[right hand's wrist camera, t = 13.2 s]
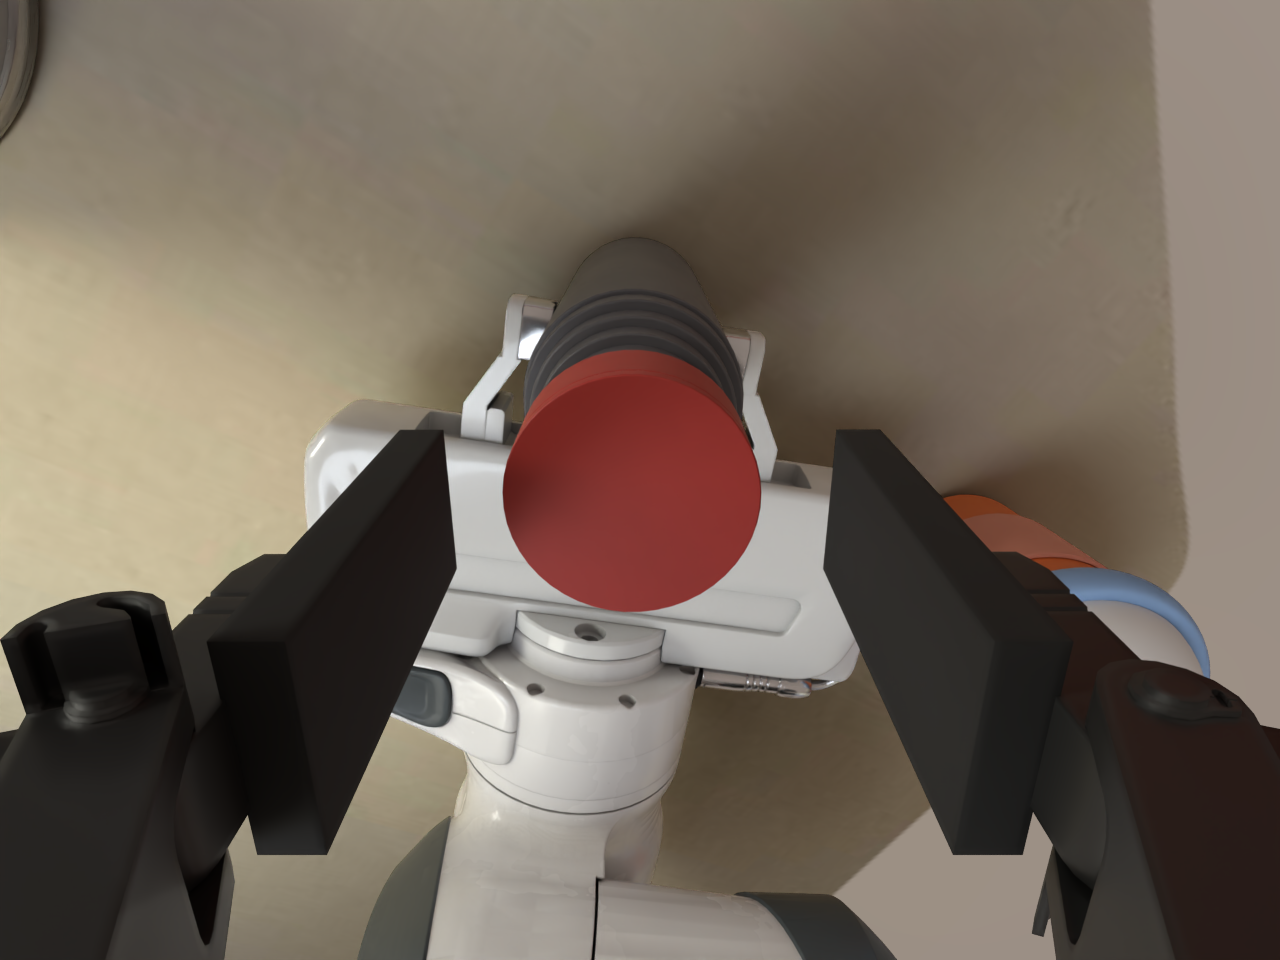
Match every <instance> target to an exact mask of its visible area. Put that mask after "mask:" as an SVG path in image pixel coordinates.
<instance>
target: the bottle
mask: <svg viewBox="0 0 1280 960" xmlns="http://www.w3.org/2000/svg"><path fill="white" fill-rule="evenodd" d="M620 350H644V351H652V352H658V353H662V354H665V355H669V356H672V357H675V358H677V359H680V360H682V361H684V362H687V363H688V364H690V365H692V366H694V367H695V368H697V369H699V370H700V371H702V372H703V373H704V374H705V375H707V376H708V377H709V378H711V379H712V380H713V381H714V382H715V383H716V384H717V385H718V386H719V387H720V388H721V389H722V390H723V392H724V393H725V394H726V396H727V397H728V398H729V400H730V401H731V402H732V404H733V406H734V408H735V410H736V411H737V413H738V415H739V417H740V420H741V421H742V413H743V398H744V391H743V379H742V375H741V370H740V366H739V363H738V360H737V358H736V355H735V352H734V350H733V348H732V347H731V345H730V343H729V341H728V339H727V337H726V335H725V333H724V331H723V329H722V327H721V325H720V323H719V321H718V319H717V317H716V315H715V313H714V311H713V310H712V308H711V306H710V304H709V302H708V300H707V298H706V296H705V294H704V292H703V290H702V288H701V286H700V284H699V282H698V280H697V278H696V276H695V275H694V273H693V271H692V269H691V268H690V266H689V265H688V263H687V262H686V261H685V260H684V259H683V258H682V257H681V256H680V255H679V254H678V253H677V252H675V251H674V250H673V249H671V248H670V247H668V246H666V245H664V244H662V243H660V242H657V241H654V240H650V239H645V238H625V239H619V240H616V241H612V242H610V243H608V244H605V245H604V246H602V247H600V248H599V249H597V250H596V251H594V252H593V253H592V254H591V255H589V257H588V258H587V259H586V260H585V261H584V262H583V263H582V265H581V266H580V267H579V269H578V270H577V272H576V274H575V276H574V278H573V279H572V281H571V283H570V285H569V287H568V288H567V290H566V292H565V294H564V296H563V297H562V299H561V301H560V303H559V305H558V307H557V308H556V310H555V312H554V314H553V316H552V317H551V319H550V321H549V323H548V325H547V326H546V328H545V330H544V332H543V334H542V335H541V337H540V339H539V341H538V343H537V345H536V346H535V348H534V350H533V352H532V355H531V357H530V360H529V363H528V365H527V370H526V374H525V379H524V390H523V398H524V417H526V415H527V413H528V411H529V409H530V407H531V405H532V404H533V402H534V401H535V399H536V398H537V397H538V395H539V394H540V392H541V391H542V390H543V389H544V388H545V387H546V386H547V385H548V384H549V383H550V382H551V381H552V380H553V379H554V378H555V377H557V376H558V375H559V374H560V373H562V372H563V371H564V370H566V369H567V368H569V367H571V366H573V365H574V364H576V363H578V362H580V361H582V360H585V359H587V358H590V357H592V356H595V355H599V354H603V353H607V352H613V351H620Z"/></svg>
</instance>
